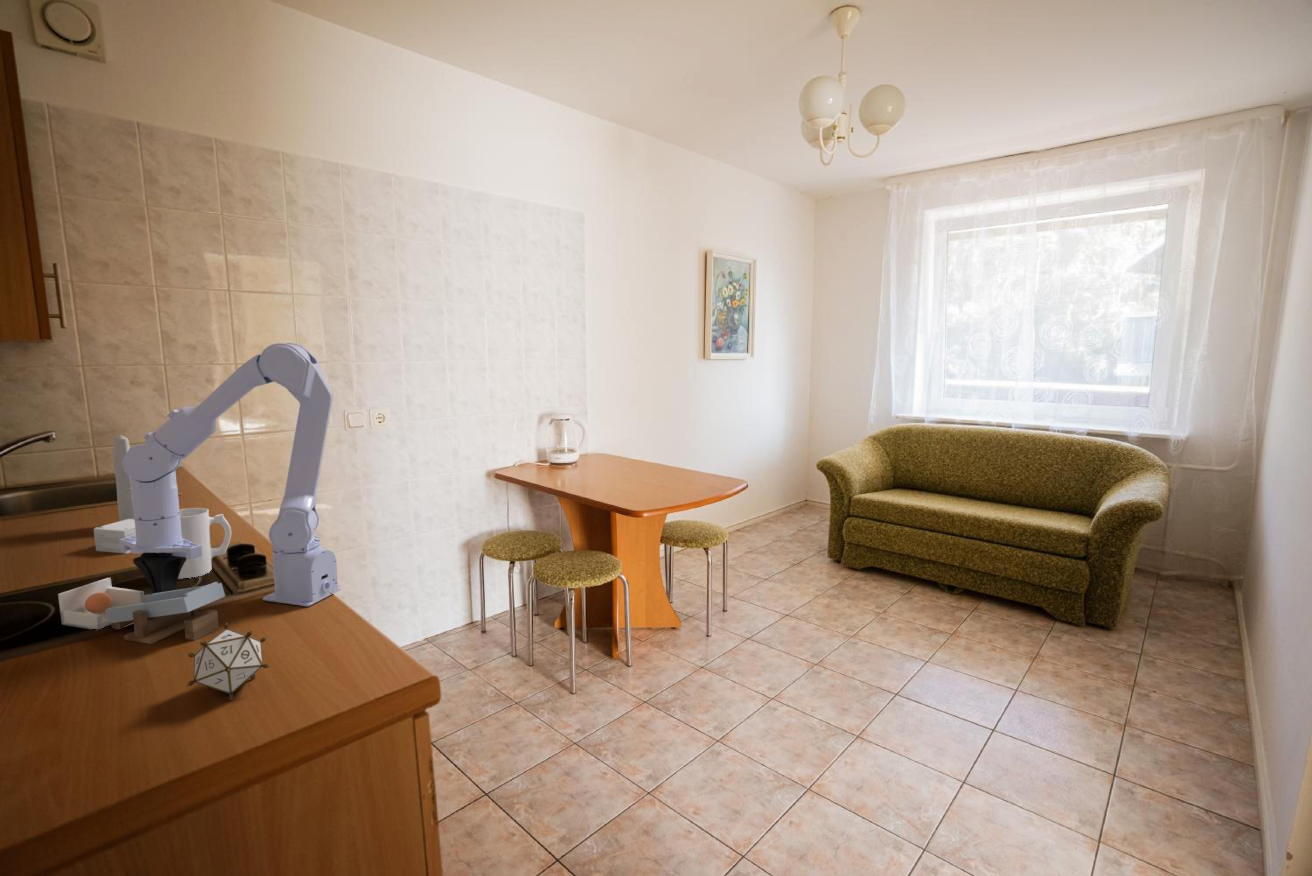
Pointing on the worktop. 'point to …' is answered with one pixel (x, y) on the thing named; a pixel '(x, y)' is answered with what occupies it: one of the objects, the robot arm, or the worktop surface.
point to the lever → (168, 602)
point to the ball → (98, 602)
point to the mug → (201, 539)
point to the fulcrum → (170, 625)
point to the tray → (76, 598)
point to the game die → (227, 661)
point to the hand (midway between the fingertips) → (164, 595)
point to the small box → (113, 535)
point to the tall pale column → (122, 479)
